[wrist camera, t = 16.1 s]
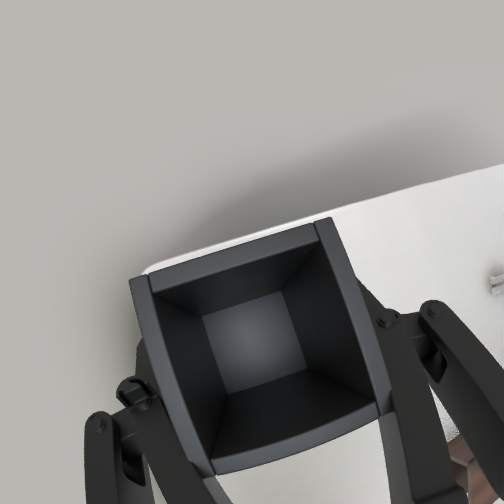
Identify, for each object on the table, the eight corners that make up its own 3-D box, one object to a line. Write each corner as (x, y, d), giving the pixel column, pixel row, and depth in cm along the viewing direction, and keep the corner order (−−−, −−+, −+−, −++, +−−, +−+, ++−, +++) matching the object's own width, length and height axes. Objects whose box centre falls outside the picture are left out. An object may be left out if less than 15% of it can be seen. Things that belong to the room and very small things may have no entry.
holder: (317, 372, 16) (398, 408, 7) (222, 404, 16) (196, 480, 6) (285, 279, 18) (331, 215, 8) (190, 309, 17) (127, 279, 8)
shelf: (494, 465, 26) (552, 483, 11) (444, 505, 25) (500, 539, 9) (491, 407, 30) (561, 416, 14) (439, 449, 28) (510, 480, 13)
